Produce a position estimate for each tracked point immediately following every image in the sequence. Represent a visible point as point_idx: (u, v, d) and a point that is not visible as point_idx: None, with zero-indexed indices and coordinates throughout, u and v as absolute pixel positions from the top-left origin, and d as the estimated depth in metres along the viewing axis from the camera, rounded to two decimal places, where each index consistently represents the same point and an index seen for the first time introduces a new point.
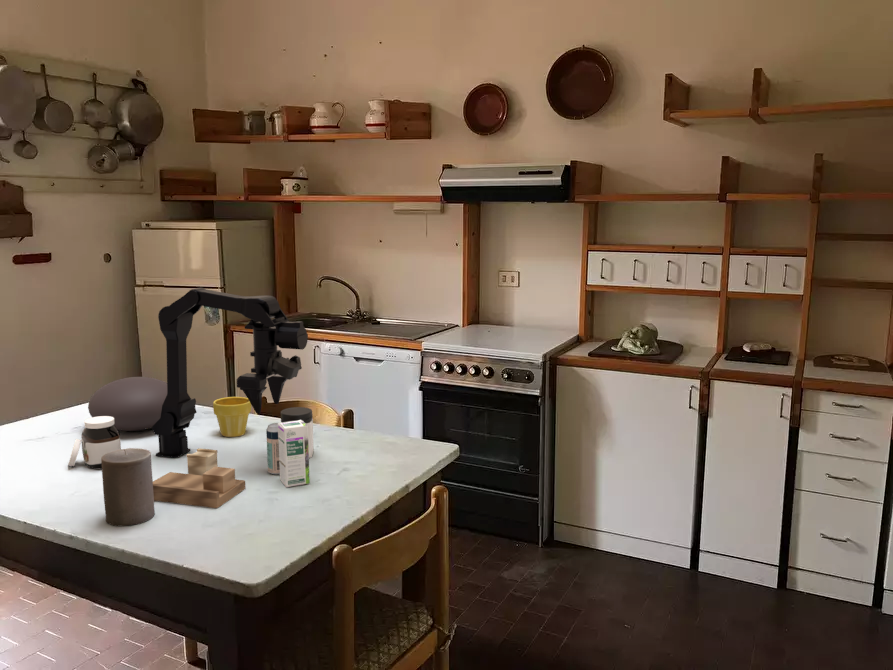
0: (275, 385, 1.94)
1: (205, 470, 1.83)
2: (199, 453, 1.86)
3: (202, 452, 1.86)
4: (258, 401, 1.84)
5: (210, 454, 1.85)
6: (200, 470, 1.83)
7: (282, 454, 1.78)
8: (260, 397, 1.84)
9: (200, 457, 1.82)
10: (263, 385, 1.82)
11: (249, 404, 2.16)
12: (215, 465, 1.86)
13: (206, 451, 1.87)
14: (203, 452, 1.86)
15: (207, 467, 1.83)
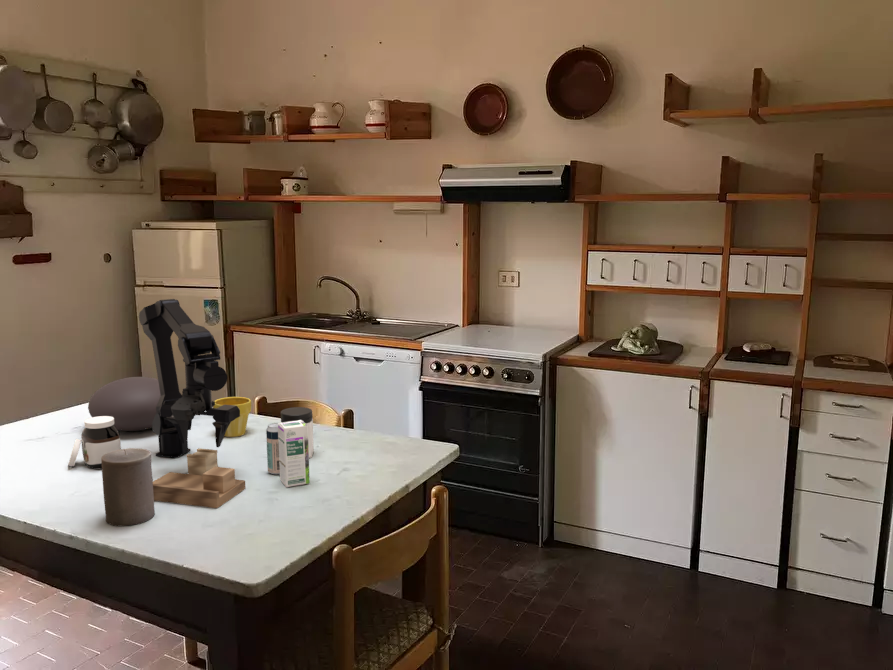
0: None
1: (205, 470, 1.83)
2: (198, 453, 1.86)
3: (202, 452, 1.86)
4: None
5: (210, 454, 1.85)
6: (200, 470, 1.83)
7: (282, 454, 1.78)
8: (177, 427, 1.84)
9: (200, 457, 1.82)
10: (166, 415, 1.82)
11: (249, 404, 2.16)
12: (215, 465, 1.86)
13: (206, 451, 1.87)
14: (203, 452, 1.86)
15: (207, 467, 1.83)
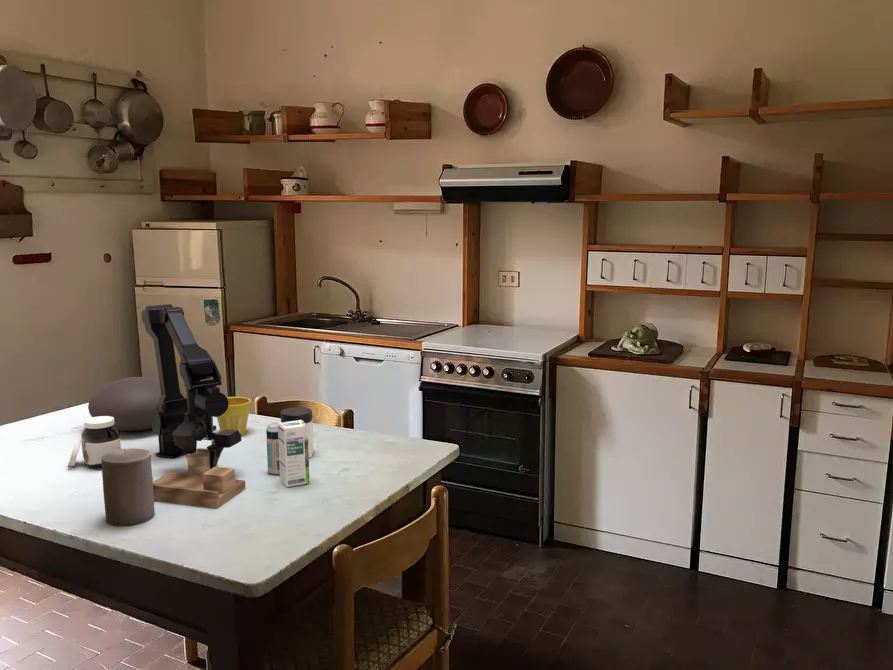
0: None
1: (205, 470, 1.83)
2: (198, 453, 1.86)
3: (202, 452, 1.86)
4: None
5: None
6: (200, 470, 1.83)
7: (282, 454, 1.78)
8: (185, 453, 1.85)
9: (200, 457, 1.82)
10: (168, 440, 1.83)
11: (249, 404, 2.16)
12: None
13: (206, 451, 1.87)
14: (203, 452, 1.86)
15: (207, 466, 1.83)
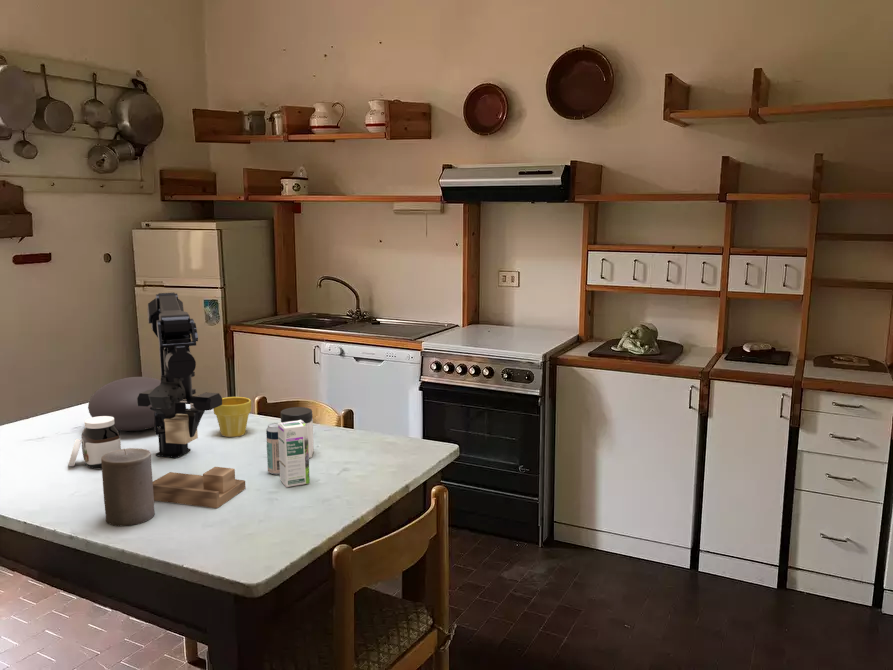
0: None
1: (184, 435, 1.71)
2: (177, 418, 1.74)
3: (181, 417, 1.75)
4: None
5: None
6: (179, 435, 1.72)
7: (282, 454, 1.78)
8: (163, 418, 1.73)
9: (178, 421, 1.71)
10: (144, 404, 1.72)
11: (249, 404, 2.16)
12: None
13: (185, 416, 1.75)
14: (182, 417, 1.75)
15: (186, 432, 1.72)
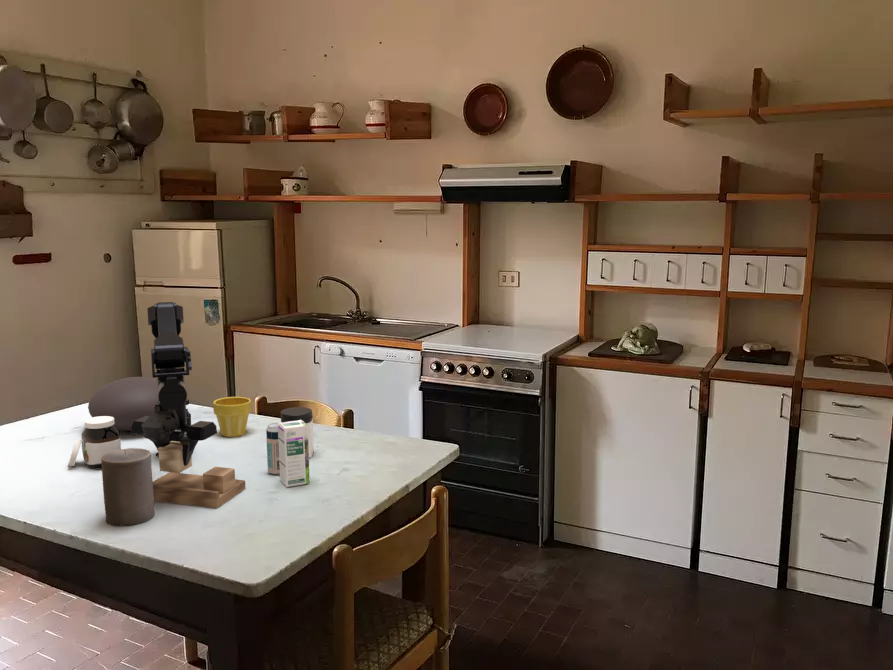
0: None
1: (178, 464, 1.70)
2: (171, 446, 1.73)
3: (175, 445, 1.74)
4: None
5: None
6: (173, 464, 1.70)
7: (282, 454, 1.78)
8: (157, 446, 1.72)
9: (172, 450, 1.70)
10: (138, 432, 1.71)
11: (249, 404, 2.16)
12: None
13: (179, 444, 1.74)
14: (176, 445, 1.74)
15: (180, 461, 1.70)
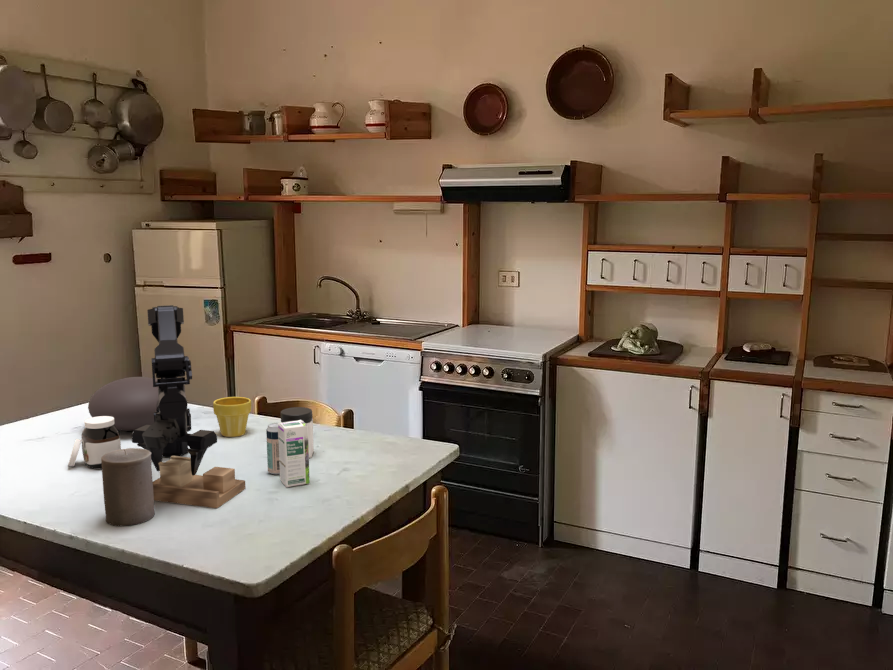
0: None
1: (178, 479, 1.71)
2: (172, 461, 1.74)
3: (176, 460, 1.74)
4: None
5: (184, 462, 1.73)
6: (173, 479, 1.71)
7: (282, 454, 1.78)
8: None
9: (173, 465, 1.70)
10: (139, 441, 1.71)
11: (249, 404, 2.16)
12: (190, 474, 1.74)
13: (180, 459, 1.75)
14: (177, 460, 1.74)
15: (180, 476, 1.71)
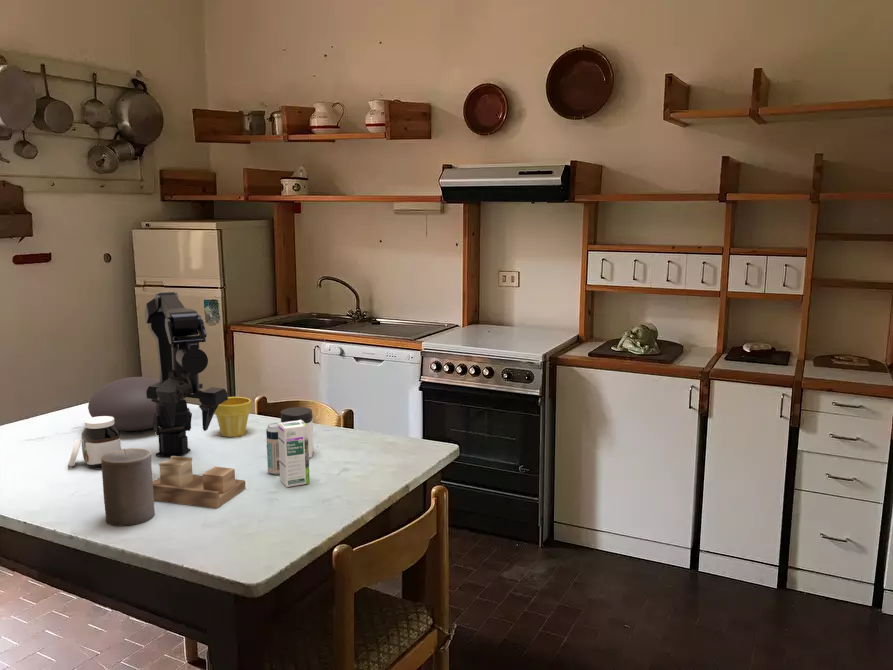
0: None
1: (178, 479, 1.71)
2: (172, 461, 1.74)
3: (176, 460, 1.74)
4: None
5: (184, 462, 1.73)
6: (173, 479, 1.71)
7: (282, 454, 1.78)
8: (164, 410, 1.80)
9: (173, 465, 1.70)
10: (153, 397, 1.78)
11: (249, 404, 2.16)
12: (190, 474, 1.74)
13: (180, 459, 1.75)
14: (177, 460, 1.74)
15: (180, 476, 1.71)
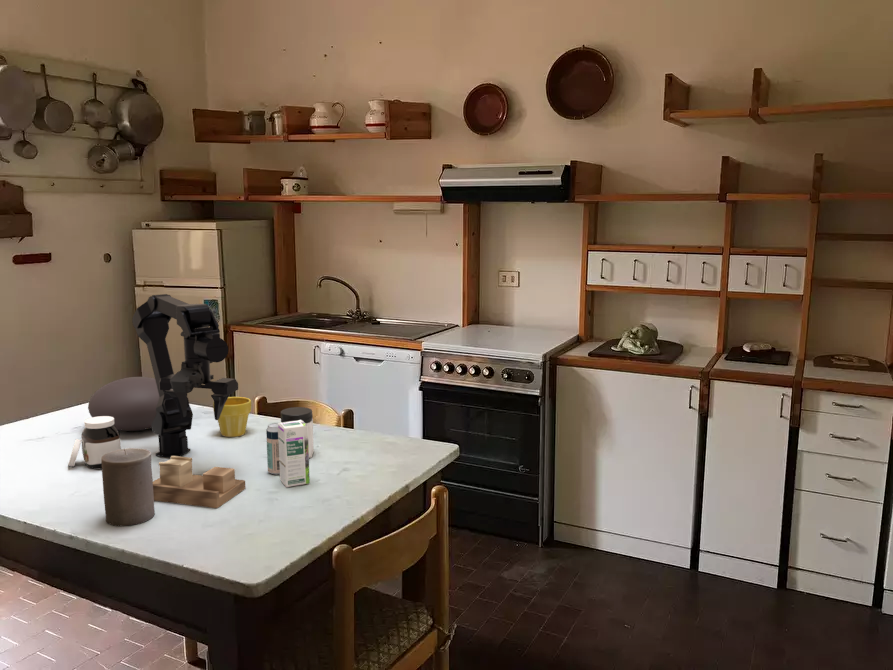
0: None
1: (178, 479, 1.71)
2: (172, 461, 1.74)
3: (176, 460, 1.74)
4: None
5: (184, 462, 1.73)
6: (173, 479, 1.71)
7: (282, 454, 1.78)
8: (176, 401, 1.86)
9: (173, 465, 1.70)
10: (166, 388, 1.84)
11: (249, 404, 2.16)
12: (190, 474, 1.74)
13: (180, 459, 1.75)
14: (177, 460, 1.74)
15: (180, 476, 1.71)
